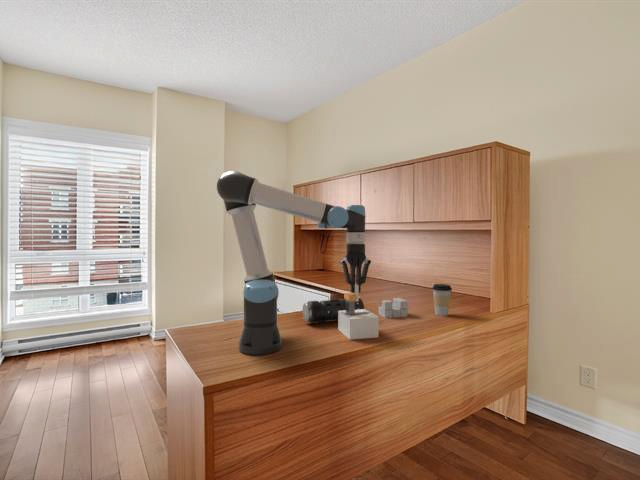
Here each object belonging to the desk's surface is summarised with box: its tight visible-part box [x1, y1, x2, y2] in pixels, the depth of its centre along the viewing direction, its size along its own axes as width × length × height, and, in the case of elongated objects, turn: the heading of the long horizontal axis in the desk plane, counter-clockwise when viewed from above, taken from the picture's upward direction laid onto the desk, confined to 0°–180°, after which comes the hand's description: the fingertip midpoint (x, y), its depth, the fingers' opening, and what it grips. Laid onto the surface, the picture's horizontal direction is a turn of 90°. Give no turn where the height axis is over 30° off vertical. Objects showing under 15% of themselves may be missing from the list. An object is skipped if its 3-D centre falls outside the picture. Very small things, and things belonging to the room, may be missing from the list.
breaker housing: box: [337, 308, 380, 340], centre depth 134 cm, size 12×14×8 cm
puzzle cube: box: [378, 297, 409, 319], centre depth 166 cm, size 12×12×8 cm
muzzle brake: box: [301, 297, 365, 324], centre depth 152 cm, size 10×28×10 cm, turn 113°
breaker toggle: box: [343, 292, 357, 314], centre depth 133 cm, size 3×6×8 cm, turn 15°
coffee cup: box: [431, 283, 453, 317], centre depth 165 cm, size 9×9×15 cm
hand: (355, 300), depth 134 cm, fingers closed
